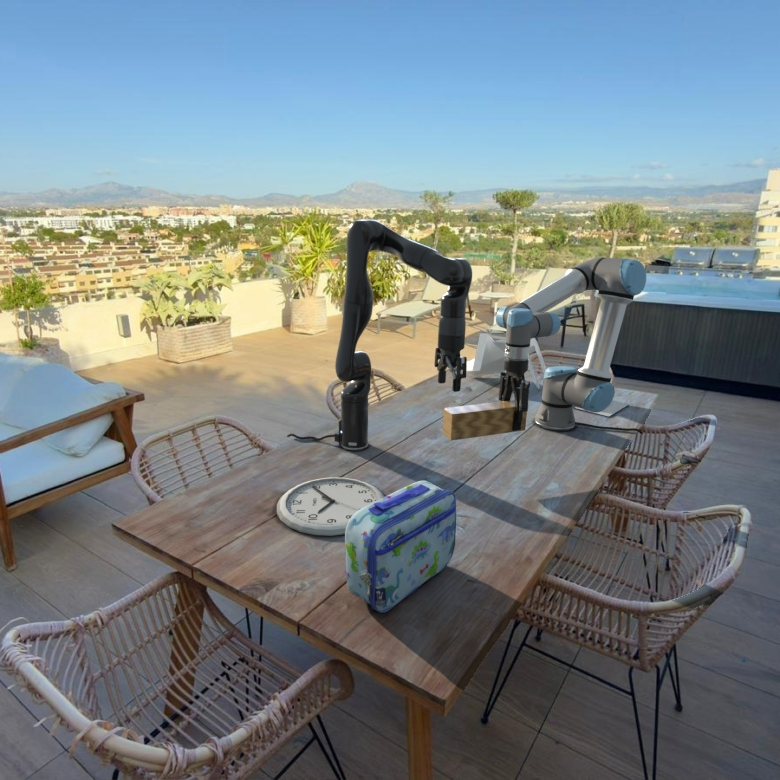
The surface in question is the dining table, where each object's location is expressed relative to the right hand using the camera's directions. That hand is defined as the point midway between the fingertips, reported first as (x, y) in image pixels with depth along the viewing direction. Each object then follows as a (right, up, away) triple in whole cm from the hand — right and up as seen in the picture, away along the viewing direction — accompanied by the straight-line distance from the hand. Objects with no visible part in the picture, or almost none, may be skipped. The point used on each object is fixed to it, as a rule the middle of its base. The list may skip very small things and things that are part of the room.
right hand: (510, 426), depth 172 cm
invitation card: (+52, +5, +54) cm, 75 cm away
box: (-9, -2, -3) cm, 10 cm away
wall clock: (-56, -20, -29) cm, 66 cm away
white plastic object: (+16, +15, +86) cm, 89 cm away
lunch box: (-37, -30, -60) cm, 77 cm away
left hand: (-23, +13, -21) cm, 33 cm away
